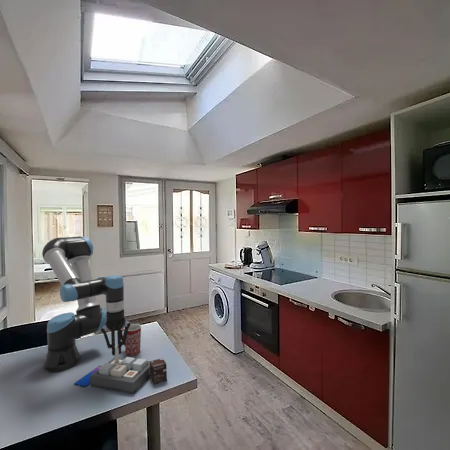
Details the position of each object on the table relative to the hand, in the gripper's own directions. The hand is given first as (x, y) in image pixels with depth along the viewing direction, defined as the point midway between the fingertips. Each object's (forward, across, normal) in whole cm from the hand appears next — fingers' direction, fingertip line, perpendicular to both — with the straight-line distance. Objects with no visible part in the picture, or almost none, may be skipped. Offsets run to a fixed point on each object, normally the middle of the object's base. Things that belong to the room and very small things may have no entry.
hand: (116, 361), depth 120 cm
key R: (+2, +4, -4) cm, 6 cm away
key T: (+2, 0, -9) cm, 9 cm away
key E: (+2, +8, -8) cm, 12 cm away
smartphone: (+6, -10, +3) cm, 12 cm away
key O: (+2, -5, -4) cm, 7 cm away
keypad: (+5, +2, -6) cm, 9 cm away
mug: (+6, +9, +18) cm, 21 cm away
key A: (+3, 0, 0) cm, 3 cm away
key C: (+4, +4, -13) cm, 14 cm away
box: (+6, +15, -15) cm, 22 cm away
